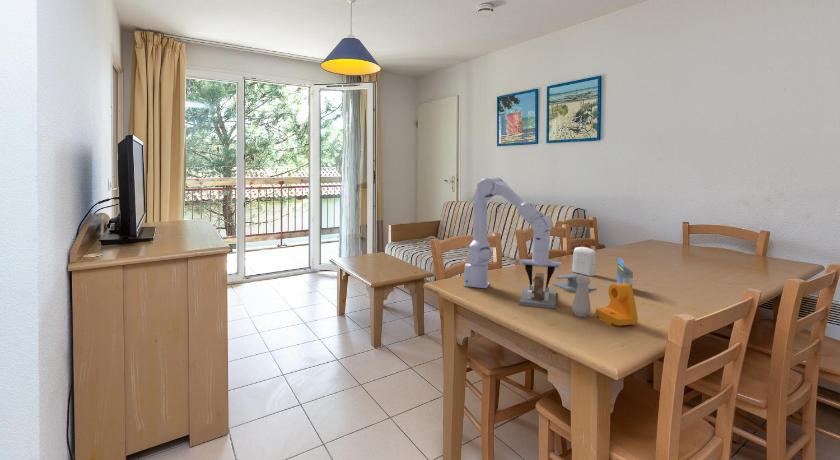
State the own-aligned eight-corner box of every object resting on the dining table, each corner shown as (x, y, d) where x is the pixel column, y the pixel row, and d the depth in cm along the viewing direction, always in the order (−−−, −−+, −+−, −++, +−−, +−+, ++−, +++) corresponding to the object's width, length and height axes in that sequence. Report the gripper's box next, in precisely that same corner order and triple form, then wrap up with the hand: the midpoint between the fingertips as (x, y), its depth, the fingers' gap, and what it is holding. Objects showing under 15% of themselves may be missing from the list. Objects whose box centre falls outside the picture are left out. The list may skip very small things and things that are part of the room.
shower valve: (546, 272, 173) (576, 270, 178) (546, 285, 174) (575, 282, 179) (566, 280, 162) (597, 277, 167) (566, 294, 163) (596, 290, 168)
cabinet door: (531, 299, 150) (532, 280, 149) (532, 290, 161) (533, 272, 160) (542, 300, 149) (543, 281, 148) (543, 291, 160) (544, 273, 159)
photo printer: (596, 275, 190) (597, 248, 188) (590, 276, 188) (592, 249, 186) (576, 270, 198) (577, 245, 197) (570, 272, 196) (572, 246, 194)
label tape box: (632, 293, 163) (635, 262, 162) (621, 292, 164) (623, 261, 162) (626, 286, 172) (628, 257, 170) (615, 286, 173) (617, 257, 171)
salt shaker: (568, 312, 140) (570, 274, 138) (584, 312, 141) (587, 274, 139) (576, 318, 134) (578, 279, 133) (593, 318, 135) (596, 278, 133)
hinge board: (519, 304, 147) (519, 294, 147) (523, 289, 166) (524, 280, 166) (555, 308, 144) (555, 298, 143) (555, 292, 163) (555, 283, 162)
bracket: (593, 316, 137) (596, 280, 135) (612, 314, 139) (615, 279, 137) (616, 328, 127) (620, 289, 125) (637, 326, 128) (640, 288, 127)
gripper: (519, 250, 151) (517, 286, 153) (562, 252, 146) (559, 290, 148) (521, 246, 157) (519, 281, 159) (561, 249, 153) (559, 285, 155)
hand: (538, 285), depth 154 cm, fingers open, 5 cm apart
